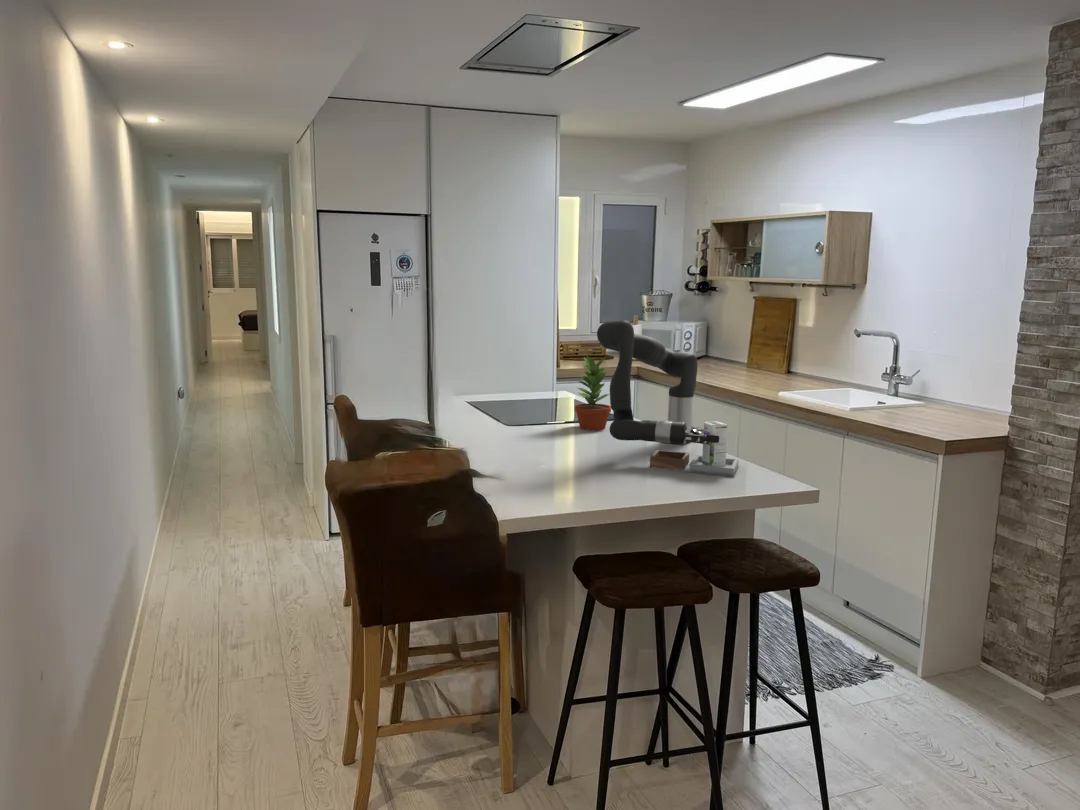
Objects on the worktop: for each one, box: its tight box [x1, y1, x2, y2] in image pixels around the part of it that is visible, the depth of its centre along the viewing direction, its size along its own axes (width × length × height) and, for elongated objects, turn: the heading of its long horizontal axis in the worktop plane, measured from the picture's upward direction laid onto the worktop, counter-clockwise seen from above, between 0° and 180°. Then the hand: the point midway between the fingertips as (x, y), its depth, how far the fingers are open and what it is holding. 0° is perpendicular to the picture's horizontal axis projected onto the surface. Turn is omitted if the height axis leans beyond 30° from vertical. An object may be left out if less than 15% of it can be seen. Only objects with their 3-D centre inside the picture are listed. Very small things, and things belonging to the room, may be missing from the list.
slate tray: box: [688, 454, 740, 477], centre depth 264 cm, size 14×14×2 cm
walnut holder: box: [649, 449, 690, 471], centre depth 269 cm, size 11×11×4 cm
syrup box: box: [701, 420, 728, 467], centre depth 263 cm, size 6×6×14 cm
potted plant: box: [574, 354, 612, 431], centre depth 326 cm, size 15×15×30 cm
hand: (720, 436), depth 262 cm, fingers open, 8 cm apart
